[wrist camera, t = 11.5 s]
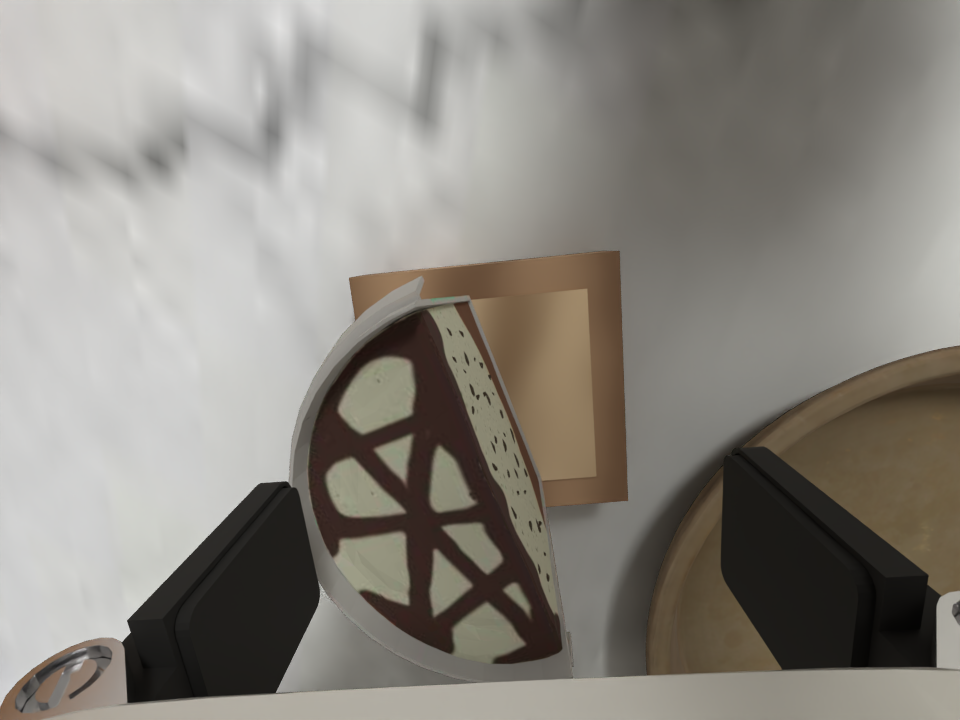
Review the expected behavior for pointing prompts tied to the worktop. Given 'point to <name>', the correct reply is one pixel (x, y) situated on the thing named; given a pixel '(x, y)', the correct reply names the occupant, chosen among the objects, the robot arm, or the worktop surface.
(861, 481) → the plant saucer
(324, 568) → the food container
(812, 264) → the worktop surface
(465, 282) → the base
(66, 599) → the worktop surface
